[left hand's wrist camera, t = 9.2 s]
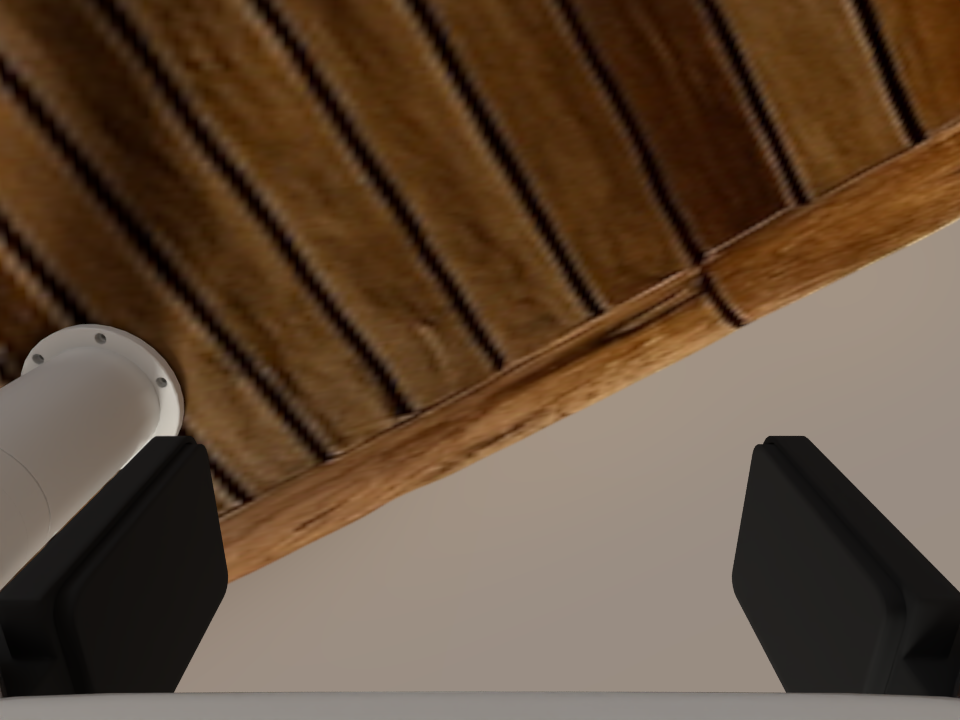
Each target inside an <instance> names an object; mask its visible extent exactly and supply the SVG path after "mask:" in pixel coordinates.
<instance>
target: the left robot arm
mask: <svg viewBox="0 0 960 720" xmlns="http://www.w3.org/2000/svg"><path fill="white" fill-rule="evenodd" d="M183 416H184V399H183V395H182V391H181V387H180V384H179V382H178V380H177V378H176V376H175V374H174V372H173V370H172V369H171V368H170V366H169V365H168V363H167V362H166V361H165V359H164V358H163V357H162V356H161V355H160V354H159V353H158V352H157V351H156V350H155V349H154V348H152V347H151V346H150V345H148V344H147V343H146V342H144V341H143V340H141V339H140V338H138V337H136V336H134V335H132V334H130V333H128V332H126V331H123V330H120V329H117V328H114V327H111V326H105V325H98V324H80V325H75V326H71V327H66V328H64V329H61V330H59V331H57V332H55V333H53V334H51V335H49V336H48V337H46V338H44V339H43V340H41V341H40V342H39V343H38V344H37V345H36V346H35V347H34V348H33V349H32V350H31V352H30V353H29V355H28V357H27V358H26V360H25V362H24V366H23V369H22V372H21V377H19V378H17V379H16V380H14V381H12V382H11V383H9V384H7V385H5V386H4V387H2V388H0V590H1V589H2V588H3V587H4V586H5V585H6V584H7V583H8V581H9V580H10V579H11V578H12V577H13V576H14V575H15V574H16V573H17V572H18V571H19V570H20V569H21V568H22V567H23V566H24V565H25V564H26V563H27V562H28V561H29V560H30V559H31V558H32V557H33V556H34V555H35V554H36V553H37V552H38V551H39V550H40V549H41V548H42V547H43V546H44V545H45V544H46V543H47V542H48V541H49V540H50V539H51V538H52V537H53V536H54V535H55V534H56V533H57V532H58V531H59V530H60V529H61V528H62V527H63V526H64V525H65V524H66V523H67V522H68V521H69V520H70V519H71V518H72V517H73V516H74V515H75V514H76V513H77V512H78V511H79V510H80V509H81V508H82V507H83V506H84V505H85V504H86V503H87V502H88V501H89V500H90V499H91V498H92V497H93V496H94V495H95V494H96V493H97V492H98V491H99V490H100V489H101V488H102V487H103V486H104V485H105V484H106V483H107V481H108V480H109V479H110V478H111V477H112V476H113V475H114V474H115V473H116V472H117V471H118V470H119V469H121V471H120V472H119V473H118V474H117V475H116V476H115V477H114V478H113V479H112V480H111V481H110V482H109V483H108V484H107V485H106V486H105V487H104V488H103V489H102V490H101V491H100V492H99V493H98V494H97V495H96V496H95V497H94V498H93V499H92V500H91V501H90V502H89V503H88V504H87V505H86V506H85V507H84V508H83V509H82V510H81V511H80V512H79V513H78V514H77V515H76V516H75V517H74V518H73V519H72V520H71V521H70V522H69V523H68V524H67V525H66V526H65V527H64V528H63V529H62V530H61V531H60V532H59V533H58V534H57V535H56V536H55V537H54V538H53V539H52V540H51V541H50V542H49V543H48V544H47V545H46V546H45V547H44V548H43V550H42V551H41V552H40V553H39V554H38V555H37V556H36V557H35V558H34V559H33V560H32V561H31V562H30V563H29V564H28V565H27V566H26V567H25V568H24V569H23V570H22V571H21V572H20V573H19V574H18V575H17V576H16V577H15V578H14V579H13V580H12V581H11V582H10V583H9V584H8V585H7V586H6V587H5V588H4V589H3V590H2V591H1V592H0V720H960V592H959V591H958V590H957V589H956V588H955V587H954V586H953V585H952V584H951V583H950V582H949V581H948V580H947V579H946V578H945V577H944V576H943V575H942V574H941V573H940V572H939V571H938V570H937V569H936V568H935V567H934V566H933V565H932V564H931V563H930V562H929V561H928V560H927V559H926V558H925V557H924V556H923V555H922V554H921V553H920V552H919V551H918V550H917V549H916V548H915V546H913V544H912V543H911V542H910V541H909V540H908V539H907V538H906V537H905V536H904V535H903V534H902V533H901V532H900V531H899V530H898V529H897V528H896V527H895V526H894V525H893V524H892V523H891V522H890V521H889V520H888V519H887V518H886V517H885V516H884V515H883V514H882V513H881V512H880V511H879V510H878V509H877V508H876V507H875V506H874V505H873V504H872V503H871V502H870V501H869V500H868V499H867V498H866V497H865V496H864V495H863V494H862V493H861V492H860V491H859V490H858V489H857V488H856V487H855V486H854V485H853V484H852V483H851V482H850V481H849V480H848V479H847V478H846V477H845V476H844V475H843V474H842V473H841V472H840V471H839V469H838V468H837V467H836V466H835V465H834V464H832V462H831V461H830V460H829V459H828V458H827V457H826V456H825V455H824V454H823V453H822V452H821V451H820V450H819V449H818V448H817V447H816V446H815V445H814V444H813V443H812V442H811V441H810V440H809V439H808V438H806V437H805V436H769V437H767V438H766V439H765V441H764V443H763V444H758V445H756V446H755V448H754V450H753V454H752V460H751V466H750V472H749V478H748V483H747V489H746V495H745V501H744V507H743V513H742V518H741V525H740V530H739V536H738V542H737V548H736V554H735V560H734V565H733V571H732V584H733V589H734V593H735V595H736V597H737V599H738V601H739V603H740V605H741V607H742V609H743V611H744V613H745V615H746V616H747V618H748V620H749V622H750V624H751V626H752V628H753V630H754V632H755V634H756V636H757V638H758V639H759V641H760V643H761V645H762V647H763V649H764V651H765V653H766V655H767V657H768V659H769V661H770V662H771V664H772V666H773V668H774V670H775V672H776V674H777V676H778V678H779V680H780V682H781V683H782V685H783V687H784V689H785V691H786V693H745V692H744V693H743V692H231V693H230V692H229V693H174V691H175V689H176V687H177V685H178V683H179V682H180V680H181V678H182V676H183V674H184V672H185V670H186V668H187V666H188V664H189V662H190V660H191V659H192V657H193V655H194V653H195V651H196V649H197V647H198V645H199V643H200V641H201V639H202V638H203V636H204V634H205V632H206V630H207V628H208V626H209V624H210V622H211V620H212V618H213V616H214V615H215V613H216V611H217V609H218V607H219V605H220V603H221V601H222V599H223V597H224V595H225V593H226V589H227V584H228V571H227V565H226V559H225V553H224V548H223V542H222V536H221V530H220V524H219V518H218V513H217V507H216V501H215V495H214V489H213V483H212V478H211V472H210V466H209V460H208V454H207V450H206V448H205V446H204V445H202V444H197V443H196V441H195V439H194V438H193V437H191V436H177V435H178V433H179V431H180V428H181V426H182V422H183Z"/></svg>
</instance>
